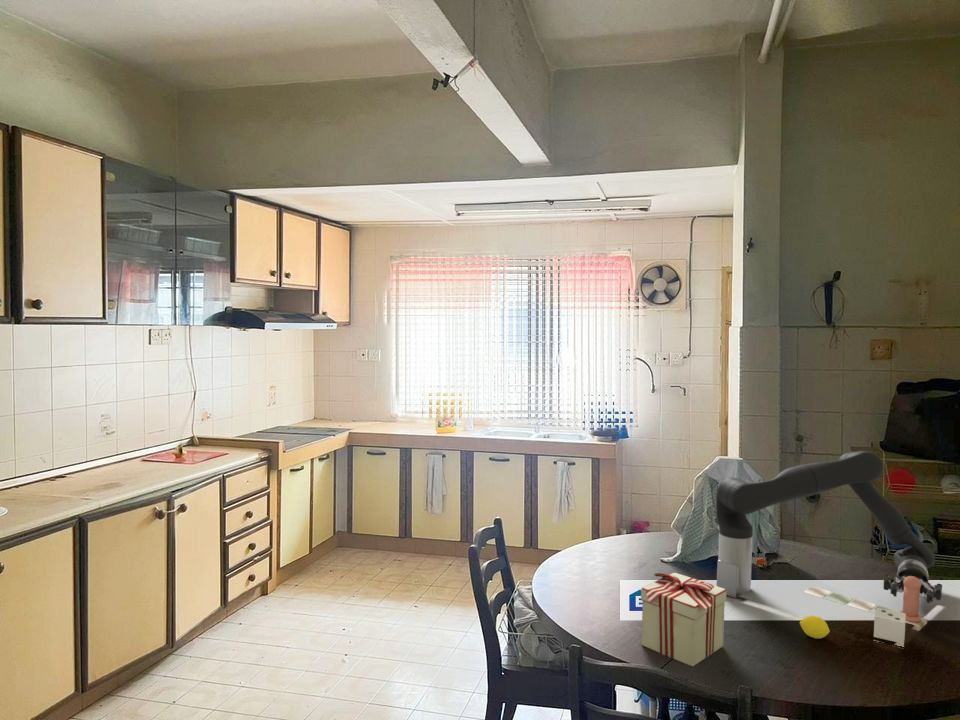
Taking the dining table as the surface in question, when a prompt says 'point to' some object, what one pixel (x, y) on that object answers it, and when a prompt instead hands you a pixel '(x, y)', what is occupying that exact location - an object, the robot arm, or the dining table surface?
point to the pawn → (911, 599)
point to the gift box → (683, 617)
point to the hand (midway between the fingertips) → (911, 596)
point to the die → (890, 626)
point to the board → (856, 603)
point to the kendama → (761, 562)
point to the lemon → (814, 627)
